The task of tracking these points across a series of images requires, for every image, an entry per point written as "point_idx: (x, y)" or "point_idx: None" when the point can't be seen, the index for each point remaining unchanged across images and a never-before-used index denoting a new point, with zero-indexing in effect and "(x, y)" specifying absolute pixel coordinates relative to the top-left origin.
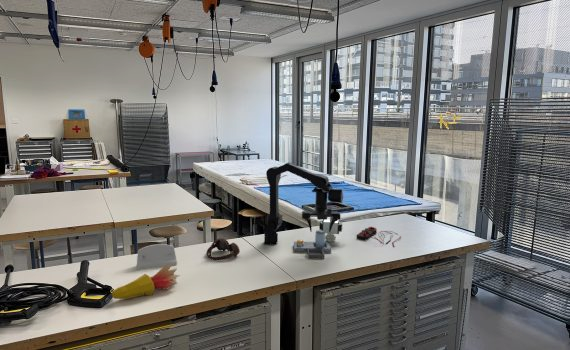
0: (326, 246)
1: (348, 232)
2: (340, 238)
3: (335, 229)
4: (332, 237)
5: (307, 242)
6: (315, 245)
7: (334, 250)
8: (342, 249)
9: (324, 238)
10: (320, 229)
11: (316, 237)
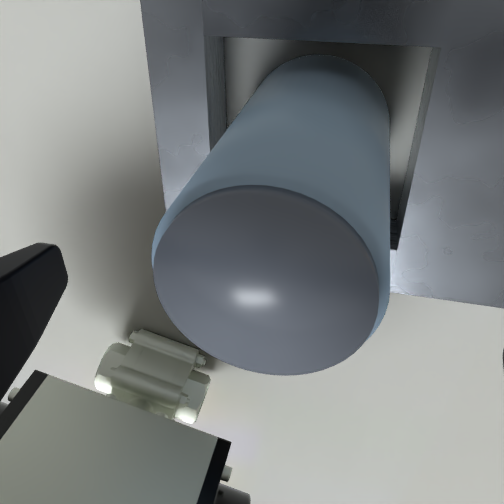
0: (213, 124)
1: None
2: None
3: (38, 432)
4: (127, 366)
5: (483, 274)
6: (389, 140)
7: (117, 60)
8: (23, 98)
9: (207, 156)
10: (238, 492)
11: (379, 187)
